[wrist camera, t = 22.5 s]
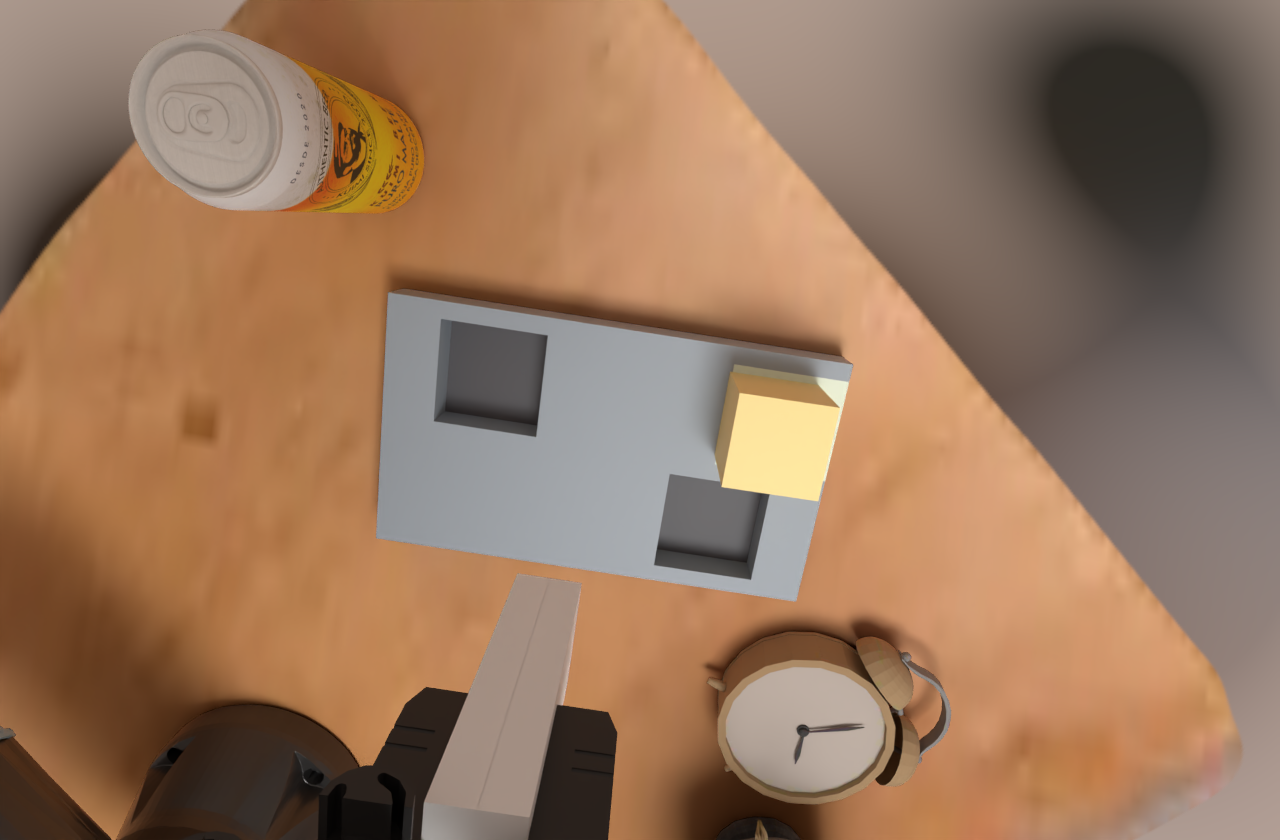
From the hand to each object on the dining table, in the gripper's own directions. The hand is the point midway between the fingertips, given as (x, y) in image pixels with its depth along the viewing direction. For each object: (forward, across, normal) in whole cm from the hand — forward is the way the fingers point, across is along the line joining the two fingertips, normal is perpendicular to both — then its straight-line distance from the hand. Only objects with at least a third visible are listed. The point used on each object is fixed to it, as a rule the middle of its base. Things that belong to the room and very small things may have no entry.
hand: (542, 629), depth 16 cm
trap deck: (+26, 0, -4) cm, 27 cm away
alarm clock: (+27, +17, -20) cm, 37 cm away
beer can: (+27, -15, +10) cm, 32 cm away
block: (+24, +9, 0) cm, 26 cm away
